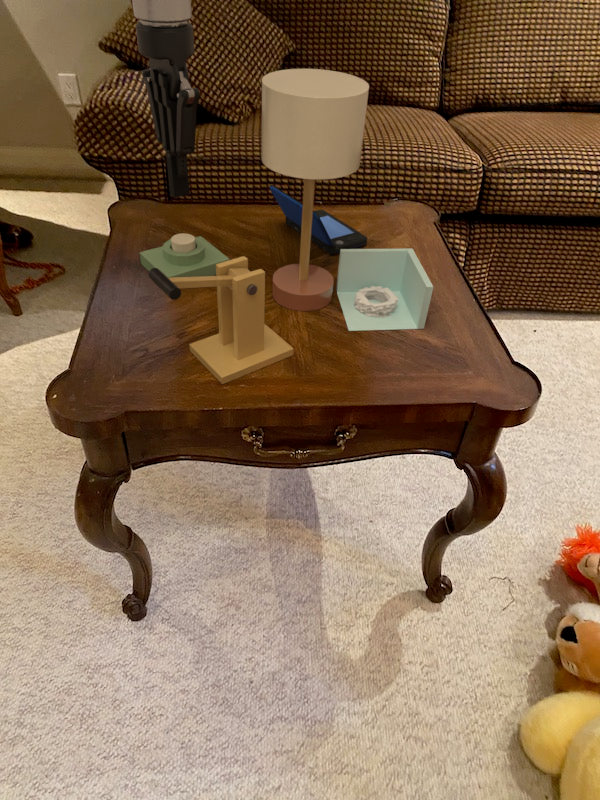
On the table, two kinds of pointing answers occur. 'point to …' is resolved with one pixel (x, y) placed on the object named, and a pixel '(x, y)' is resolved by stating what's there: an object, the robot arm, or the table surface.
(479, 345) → the table surface
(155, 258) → the switch box
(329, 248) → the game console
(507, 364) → the table surface
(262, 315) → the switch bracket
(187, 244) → the button
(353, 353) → the table surface
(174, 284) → the lamp lever
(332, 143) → the lamp
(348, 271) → the right angle wall
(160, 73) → the robot arm
